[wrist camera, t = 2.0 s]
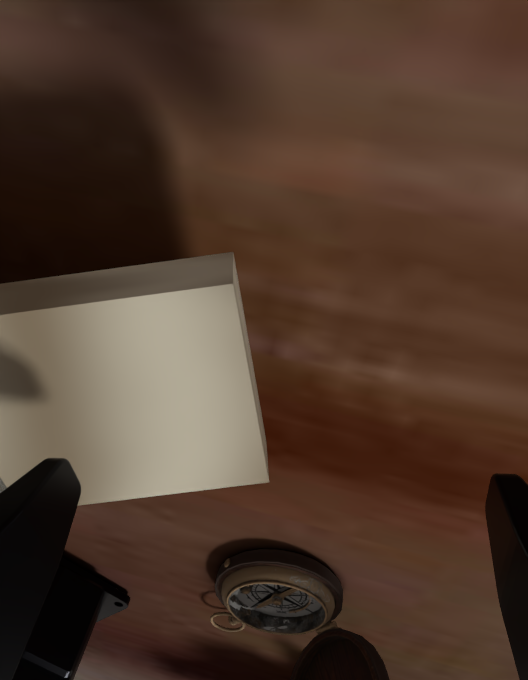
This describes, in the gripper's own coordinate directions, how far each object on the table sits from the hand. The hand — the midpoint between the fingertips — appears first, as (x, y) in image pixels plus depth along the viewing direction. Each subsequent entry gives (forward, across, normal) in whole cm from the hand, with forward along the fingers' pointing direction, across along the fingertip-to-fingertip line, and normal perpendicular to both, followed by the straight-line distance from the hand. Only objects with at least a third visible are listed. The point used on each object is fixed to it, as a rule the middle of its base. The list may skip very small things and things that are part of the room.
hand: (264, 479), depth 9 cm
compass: (+7, +2, +17) cm, 19 cm away
